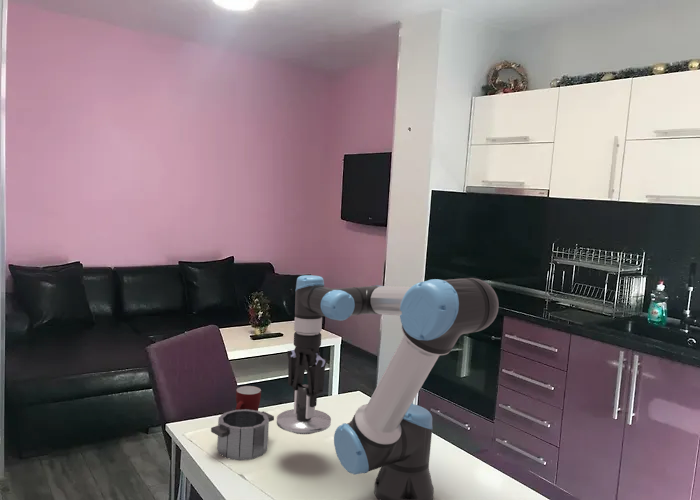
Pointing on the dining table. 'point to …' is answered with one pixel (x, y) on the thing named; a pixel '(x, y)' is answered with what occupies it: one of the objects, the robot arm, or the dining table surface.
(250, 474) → the dining table surface
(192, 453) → the dining table surface
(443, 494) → the dining table surface
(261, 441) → the pot
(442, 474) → the dining table surface
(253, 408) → the mug
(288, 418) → the lid
